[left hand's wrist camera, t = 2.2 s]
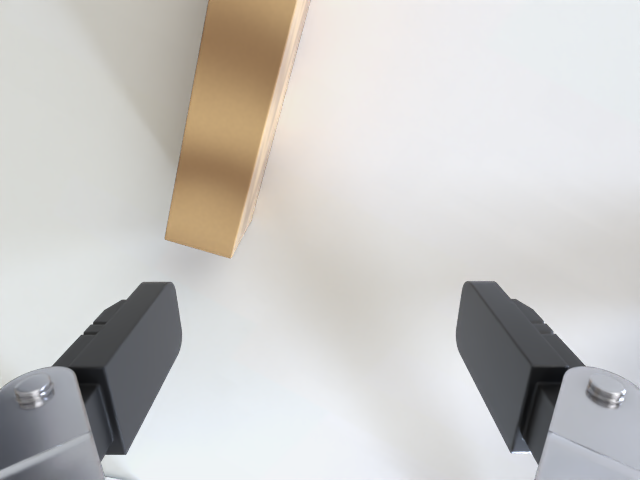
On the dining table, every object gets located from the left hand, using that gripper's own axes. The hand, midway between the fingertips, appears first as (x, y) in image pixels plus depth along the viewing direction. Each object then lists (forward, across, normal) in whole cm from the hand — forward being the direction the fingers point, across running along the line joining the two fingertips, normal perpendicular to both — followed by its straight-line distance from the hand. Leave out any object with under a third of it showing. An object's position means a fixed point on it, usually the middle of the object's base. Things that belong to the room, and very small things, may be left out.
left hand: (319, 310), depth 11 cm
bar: (+22, -4, +7) cm, 24 cm away
